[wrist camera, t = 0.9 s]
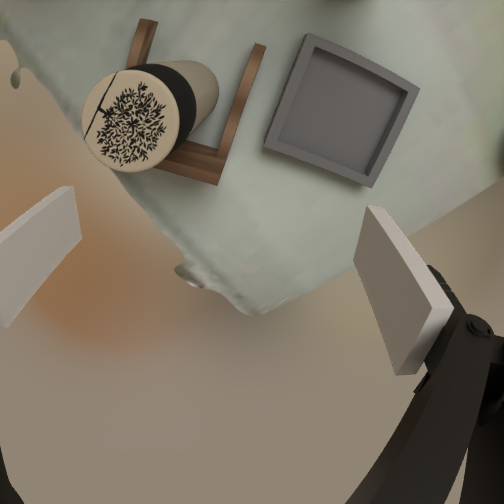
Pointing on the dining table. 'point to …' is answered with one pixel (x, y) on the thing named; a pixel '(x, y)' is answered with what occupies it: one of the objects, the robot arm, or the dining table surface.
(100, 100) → the travel mug
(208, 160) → the walnut dock
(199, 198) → the dining table surface
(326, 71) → the charcoal tray
